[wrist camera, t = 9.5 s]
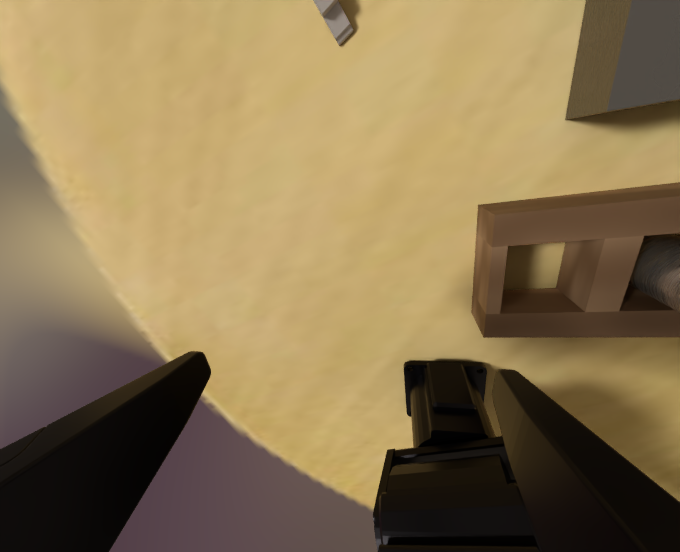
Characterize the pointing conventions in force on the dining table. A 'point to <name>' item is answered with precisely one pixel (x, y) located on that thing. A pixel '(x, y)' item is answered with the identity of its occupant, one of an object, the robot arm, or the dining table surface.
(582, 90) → the socket block
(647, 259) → the metal peg
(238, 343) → the dining table surface
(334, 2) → the caliper
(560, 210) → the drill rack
